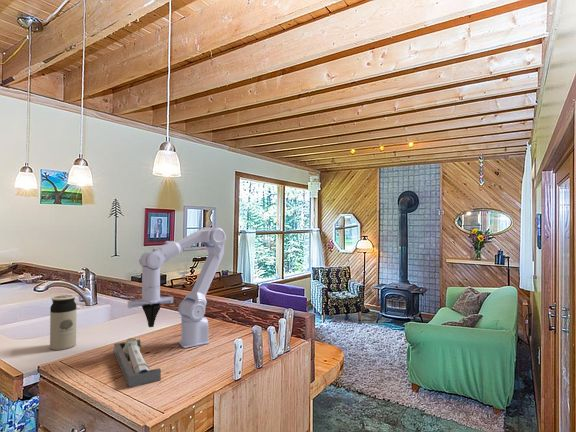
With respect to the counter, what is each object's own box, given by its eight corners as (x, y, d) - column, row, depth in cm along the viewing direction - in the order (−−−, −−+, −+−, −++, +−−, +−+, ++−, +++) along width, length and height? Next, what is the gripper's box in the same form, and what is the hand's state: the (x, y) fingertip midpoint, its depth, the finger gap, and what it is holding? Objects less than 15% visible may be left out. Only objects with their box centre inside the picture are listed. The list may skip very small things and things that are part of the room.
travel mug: (50, 345, 130) (50, 296, 130) (75, 341, 134) (76, 293, 135) (49, 352, 123) (50, 300, 124) (76, 347, 128) (76, 297, 128)
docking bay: (139, 347, 128) (139, 339, 128) (160, 380, 101) (160, 369, 102) (113, 352, 123) (113, 343, 123) (128, 387, 97) (128, 376, 97)
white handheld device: (133, 371, 99) (121, 334, 120) (132, 394, 99) (121, 353, 120) (153, 367, 101) (138, 332, 122) (152, 389, 102) (137, 350, 123)
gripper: (130, 290, 115) (129, 333, 114) (175, 286, 122) (175, 325, 122) (126, 287, 120) (126, 327, 120) (170, 283, 128) (170, 321, 128)
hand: (150, 326), depth 122 cm, fingers closed
